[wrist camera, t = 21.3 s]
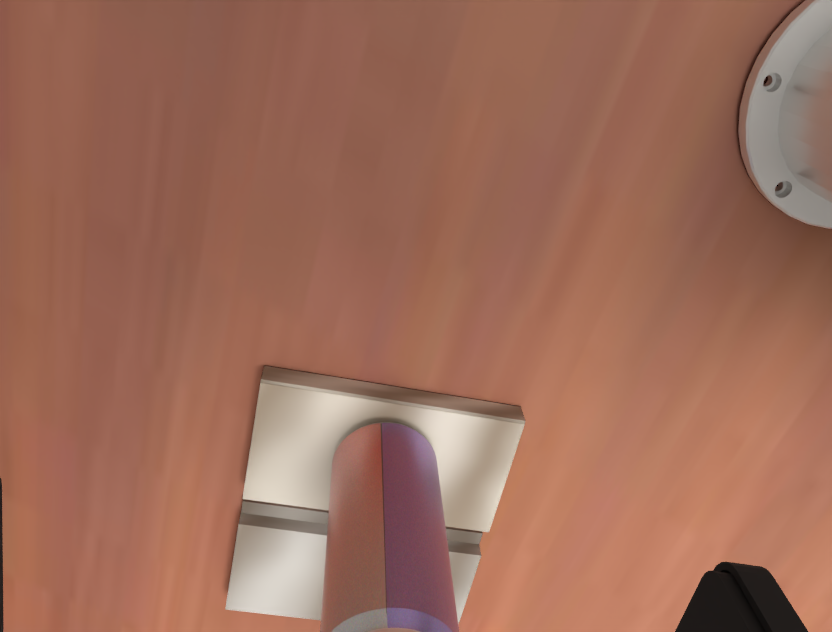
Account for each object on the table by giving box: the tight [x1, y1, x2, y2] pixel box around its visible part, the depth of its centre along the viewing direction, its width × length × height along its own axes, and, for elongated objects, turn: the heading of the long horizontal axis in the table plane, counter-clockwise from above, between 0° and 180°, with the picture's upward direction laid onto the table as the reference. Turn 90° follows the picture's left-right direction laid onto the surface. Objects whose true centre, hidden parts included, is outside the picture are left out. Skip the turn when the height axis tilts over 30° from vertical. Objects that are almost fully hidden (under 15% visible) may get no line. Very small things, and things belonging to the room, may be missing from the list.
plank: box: [243, 366, 525, 532], centre depth 45 cm, size 15×8×2 cm, turn 78°
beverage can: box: [320, 422, 459, 632], centre depth 38 cm, size 6×6×15 cm
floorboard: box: [225, 499, 483, 624], centre depth 49 cm, size 15×8×2 cm, turn 78°
